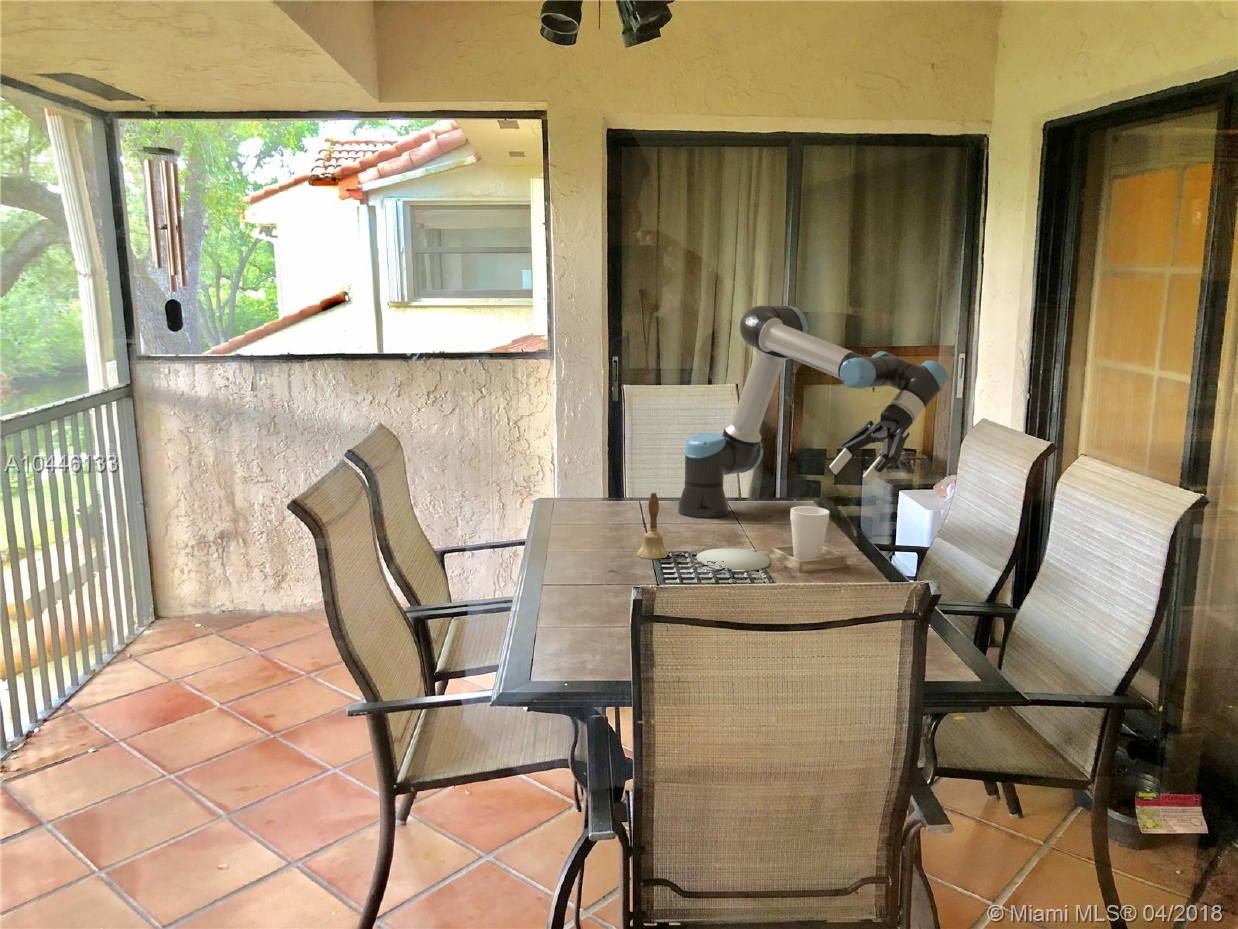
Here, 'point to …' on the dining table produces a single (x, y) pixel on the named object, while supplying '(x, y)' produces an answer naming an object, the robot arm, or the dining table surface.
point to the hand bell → (653, 535)
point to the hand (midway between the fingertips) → (848, 475)
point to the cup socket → (827, 562)
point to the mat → (734, 558)
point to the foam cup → (808, 531)
